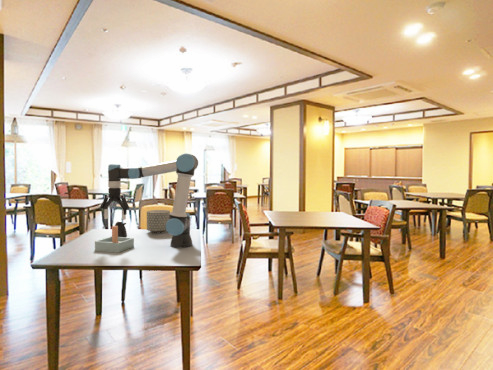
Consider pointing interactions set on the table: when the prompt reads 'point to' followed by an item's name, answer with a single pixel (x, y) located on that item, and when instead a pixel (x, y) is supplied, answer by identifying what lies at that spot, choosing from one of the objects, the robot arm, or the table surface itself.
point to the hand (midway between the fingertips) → (115, 219)
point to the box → (114, 244)
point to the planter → (157, 220)
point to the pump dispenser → (121, 229)
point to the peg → (115, 234)
